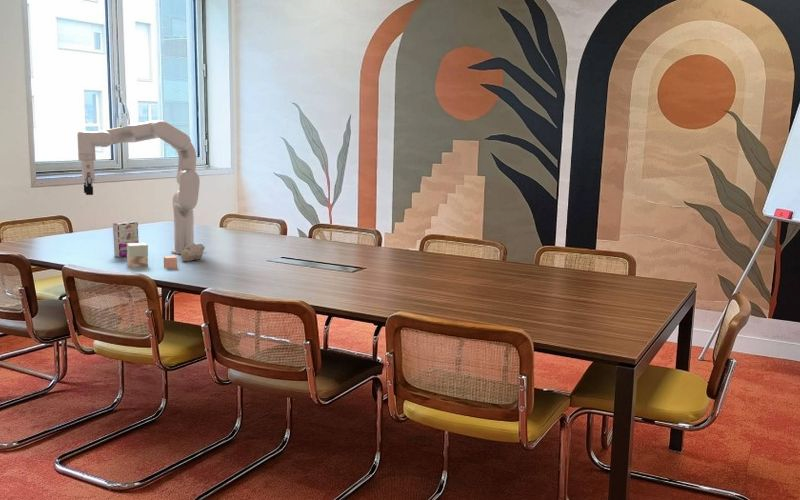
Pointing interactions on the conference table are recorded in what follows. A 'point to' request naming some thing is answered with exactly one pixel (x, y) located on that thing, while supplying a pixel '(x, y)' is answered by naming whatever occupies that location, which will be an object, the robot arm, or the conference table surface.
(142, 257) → the tower bottom
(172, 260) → the terracotta cube
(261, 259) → the conference table surface
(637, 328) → the conference table surface
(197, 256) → the fossil replica
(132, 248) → the tower top
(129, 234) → the candy bar box
